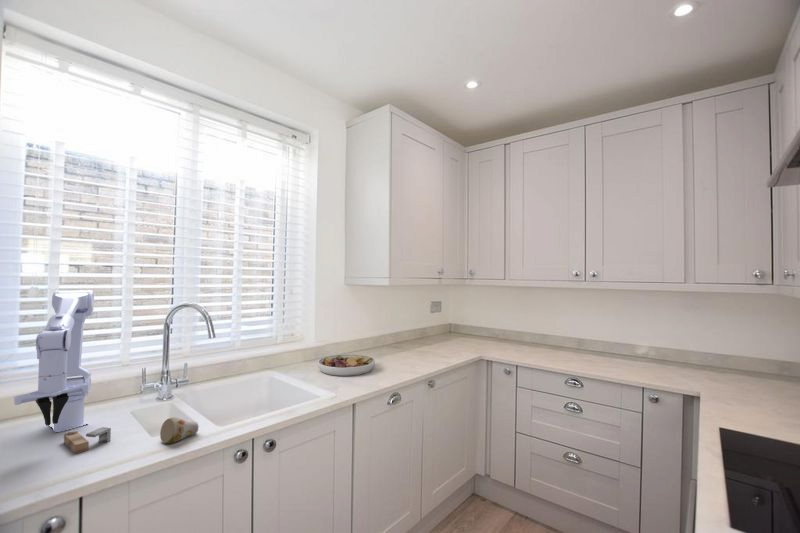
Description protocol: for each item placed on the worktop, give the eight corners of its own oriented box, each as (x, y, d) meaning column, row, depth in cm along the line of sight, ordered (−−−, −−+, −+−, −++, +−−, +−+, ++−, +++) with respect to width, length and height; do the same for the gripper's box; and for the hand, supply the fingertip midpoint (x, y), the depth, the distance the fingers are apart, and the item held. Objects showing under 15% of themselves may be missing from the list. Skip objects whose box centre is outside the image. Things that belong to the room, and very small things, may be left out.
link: (62, 442, 109) (62, 431, 109) (75, 438, 111) (76, 428, 111) (74, 454, 102) (75, 443, 102) (88, 449, 104) (89, 439, 104)
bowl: (327, 362, 211) (327, 348, 211) (379, 364, 208) (379, 350, 208) (309, 376, 181) (309, 360, 181) (369, 379, 178) (369, 362, 179)
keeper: (85, 447, 106) (86, 433, 106) (102, 440, 110) (102, 427, 111) (94, 448, 105) (94, 434, 105) (110, 441, 110) (110, 427, 110)
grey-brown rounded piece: (205, 435, 115) (194, 413, 111) (173, 459, 109) (160, 437, 104) (194, 423, 120) (183, 402, 115) (163, 445, 113) (150, 423, 108)
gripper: (18, 382, 94) (16, 436, 93) (90, 370, 106) (89, 418, 105) (12, 378, 98) (11, 429, 98) (83, 367, 110) (81, 413, 109)
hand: (51, 423), depth 102 cm, fingers closed
